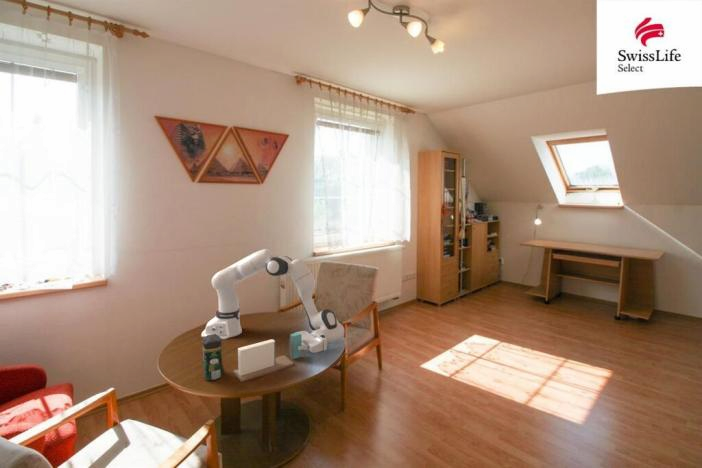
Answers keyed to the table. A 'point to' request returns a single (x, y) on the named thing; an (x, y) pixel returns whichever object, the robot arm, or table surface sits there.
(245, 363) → the stand
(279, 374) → the table surface
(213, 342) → the coffee jar
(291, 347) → the teal rectangular block
